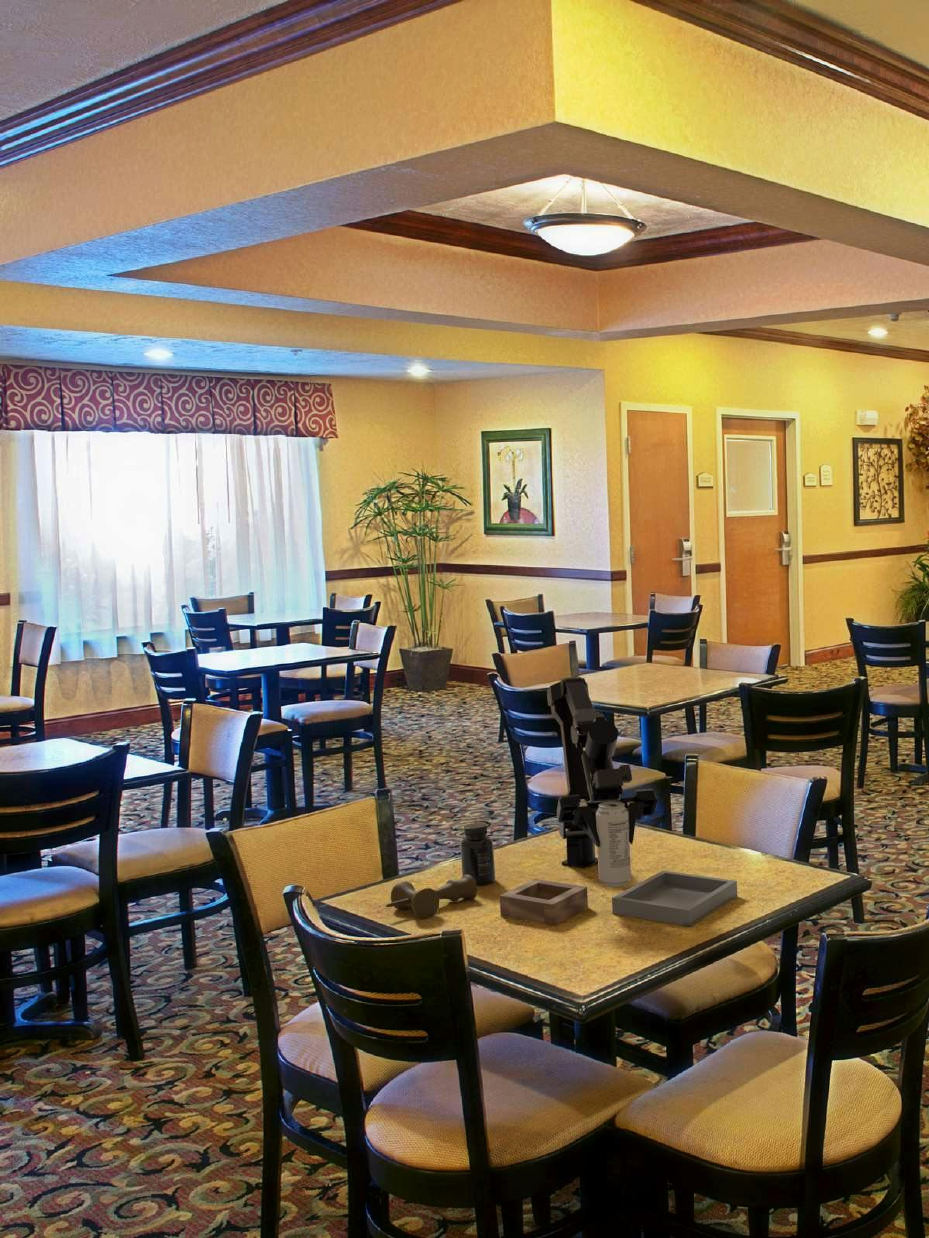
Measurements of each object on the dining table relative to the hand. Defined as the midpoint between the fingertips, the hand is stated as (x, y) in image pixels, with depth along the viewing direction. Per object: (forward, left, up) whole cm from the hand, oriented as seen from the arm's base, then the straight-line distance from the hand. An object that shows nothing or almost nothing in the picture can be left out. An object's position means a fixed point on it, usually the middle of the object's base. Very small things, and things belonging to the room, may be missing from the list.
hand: (615, 844), depth 232 cm
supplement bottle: (-5, -36, -13) cm, 39 cm away
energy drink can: (-1, -1, -8) cm, 8 cm away
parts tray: (-10, +7, -13) cm, 18 cm away
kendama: (+14, -34, -14) cm, 39 cm away
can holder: (+5, -13, -13) cm, 19 cm away
